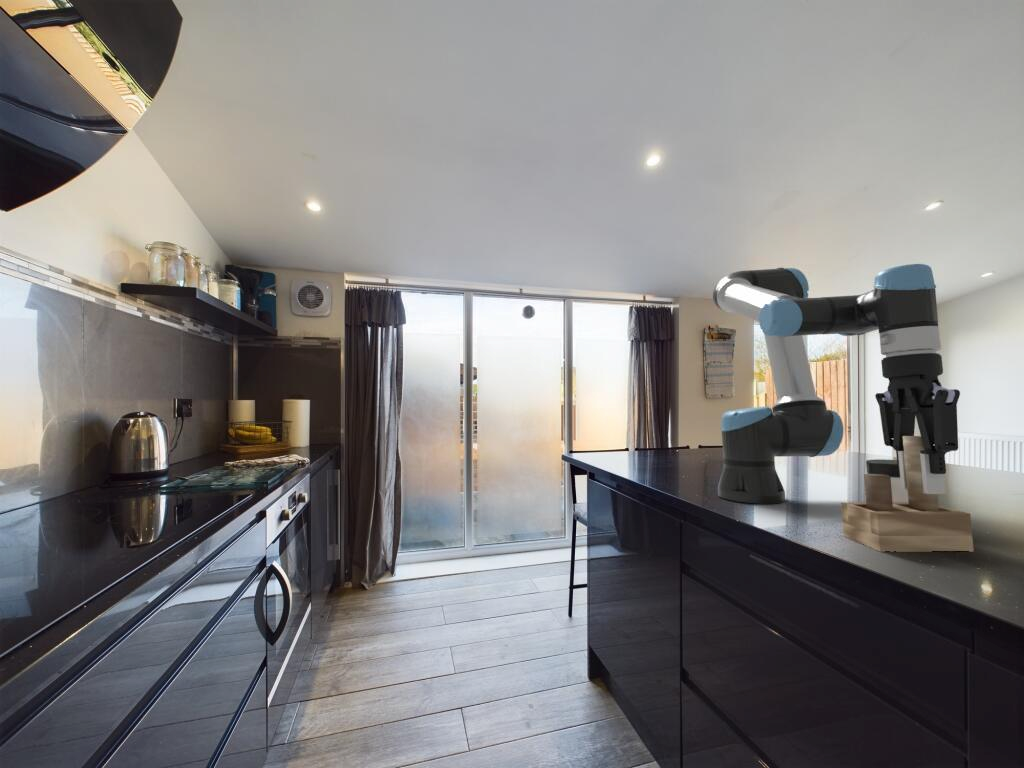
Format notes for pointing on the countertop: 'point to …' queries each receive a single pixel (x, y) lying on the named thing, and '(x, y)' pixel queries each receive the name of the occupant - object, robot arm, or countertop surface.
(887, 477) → the stub
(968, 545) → the wooden divided box
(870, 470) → the jar
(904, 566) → the countertop surface
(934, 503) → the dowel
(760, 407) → the robot arm
